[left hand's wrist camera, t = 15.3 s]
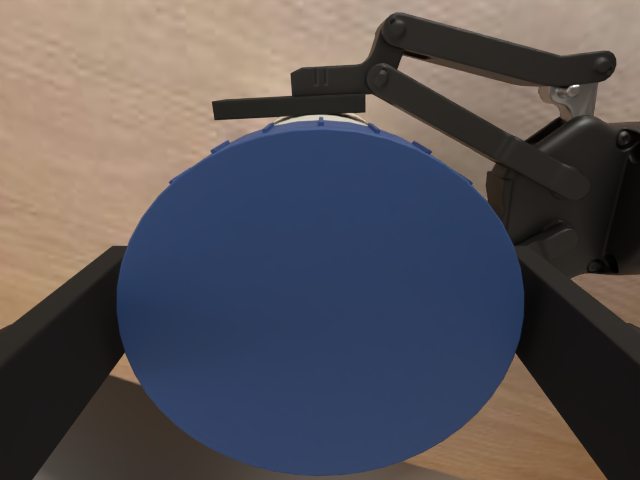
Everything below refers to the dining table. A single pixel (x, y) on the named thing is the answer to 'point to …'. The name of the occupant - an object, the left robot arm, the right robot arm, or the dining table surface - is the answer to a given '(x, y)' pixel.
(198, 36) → the dining table surface
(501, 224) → the lid
